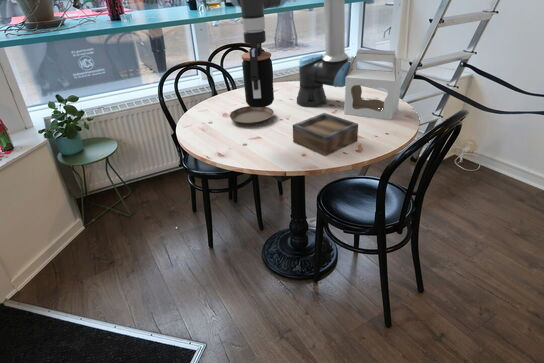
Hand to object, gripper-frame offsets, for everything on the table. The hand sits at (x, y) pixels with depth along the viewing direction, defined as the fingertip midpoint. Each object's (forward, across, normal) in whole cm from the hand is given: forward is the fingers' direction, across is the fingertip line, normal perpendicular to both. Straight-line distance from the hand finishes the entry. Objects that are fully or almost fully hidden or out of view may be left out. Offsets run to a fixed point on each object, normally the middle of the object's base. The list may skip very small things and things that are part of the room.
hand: (259, 93), depth 140 cm
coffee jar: (+4, 0, 0) cm, 4 cm away
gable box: (+22, -34, +47) cm, 62 cm away
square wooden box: (+21, -2, +25) cm, 33 cm away
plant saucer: (+22, -28, -9) cm, 37 cm away
